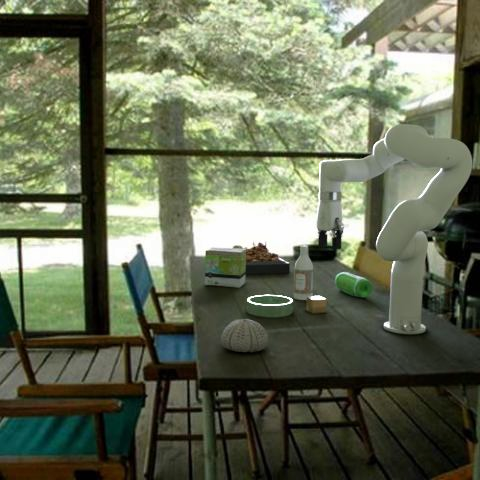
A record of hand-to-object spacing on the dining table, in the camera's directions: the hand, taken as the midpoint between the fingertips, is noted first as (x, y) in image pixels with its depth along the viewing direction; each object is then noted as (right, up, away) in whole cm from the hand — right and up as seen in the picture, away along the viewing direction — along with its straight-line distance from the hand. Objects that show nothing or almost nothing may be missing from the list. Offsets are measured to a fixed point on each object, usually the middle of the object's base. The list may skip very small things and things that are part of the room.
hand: (329, 247), depth 212 cm
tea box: (-37, -16, +45) cm, 60 cm away
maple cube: (-5, -22, 0) cm, 23 cm away
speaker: (+13, -19, +30) cm, 37 cm away
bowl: (-20, -22, -2) cm, 30 cm away
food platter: (-25, -10, +92) cm, 96 cm away
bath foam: (-7, -20, +20) cm, 29 cm away
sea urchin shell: (-29, -28, -41) cm, 57 cm away
